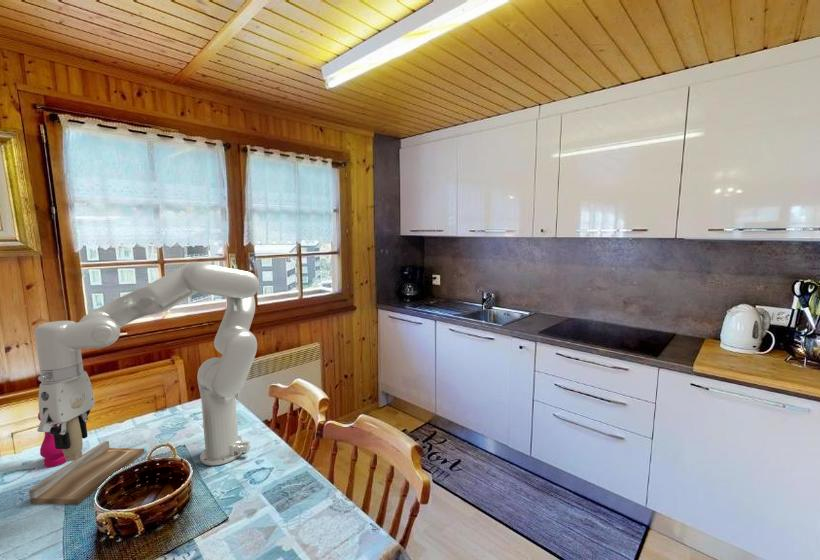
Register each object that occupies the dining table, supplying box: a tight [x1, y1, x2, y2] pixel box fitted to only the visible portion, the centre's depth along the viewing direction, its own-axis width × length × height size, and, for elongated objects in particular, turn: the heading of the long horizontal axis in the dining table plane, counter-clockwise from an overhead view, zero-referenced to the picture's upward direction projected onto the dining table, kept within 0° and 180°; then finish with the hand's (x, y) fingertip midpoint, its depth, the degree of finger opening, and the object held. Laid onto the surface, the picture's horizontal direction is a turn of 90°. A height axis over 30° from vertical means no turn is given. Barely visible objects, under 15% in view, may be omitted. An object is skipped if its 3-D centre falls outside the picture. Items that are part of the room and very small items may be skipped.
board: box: [28, 440, 145, 505], centre depth 108 cm, size 13×23×4 cm, turn 178°
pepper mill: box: [37, 413, 68, 468], centre depth 114 cm, size 7×7×20 cm
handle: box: [62, 399, 83, 463], centre depth 91 cm, size 5×6×15 cm
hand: (71, 442), depth 91 cm, fingers closed on handle, 3 cm apart
